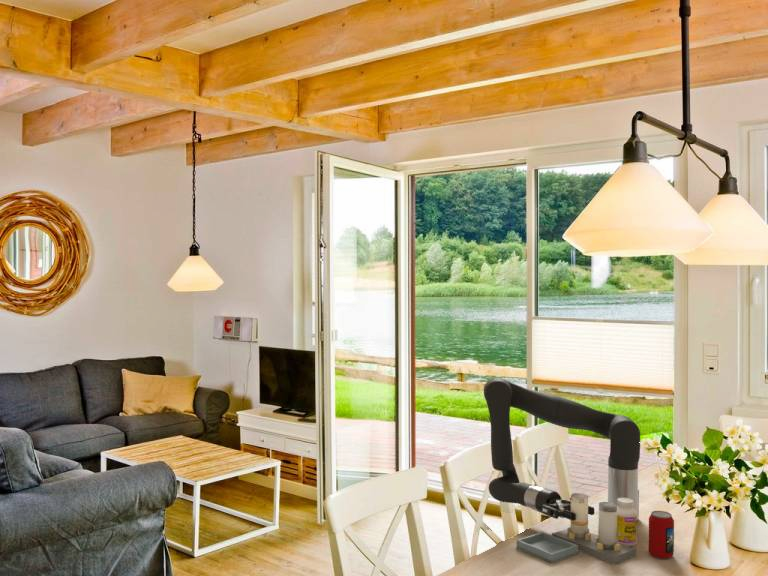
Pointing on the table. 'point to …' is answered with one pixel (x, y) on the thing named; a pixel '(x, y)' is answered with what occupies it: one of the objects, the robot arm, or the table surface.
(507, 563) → the table surface
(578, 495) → the marked fuse
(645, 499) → the table surface
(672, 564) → the table surface
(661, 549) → the beverage can
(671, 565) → the table surface
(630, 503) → the supplement bottle
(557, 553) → the tray
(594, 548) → the block
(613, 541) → the cylinder
